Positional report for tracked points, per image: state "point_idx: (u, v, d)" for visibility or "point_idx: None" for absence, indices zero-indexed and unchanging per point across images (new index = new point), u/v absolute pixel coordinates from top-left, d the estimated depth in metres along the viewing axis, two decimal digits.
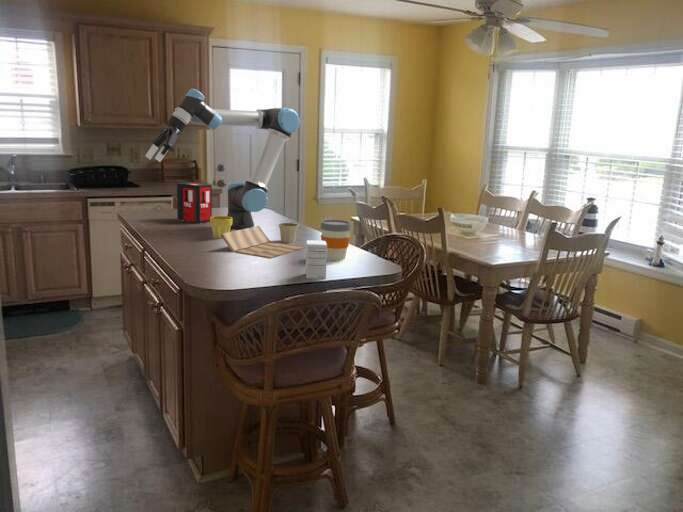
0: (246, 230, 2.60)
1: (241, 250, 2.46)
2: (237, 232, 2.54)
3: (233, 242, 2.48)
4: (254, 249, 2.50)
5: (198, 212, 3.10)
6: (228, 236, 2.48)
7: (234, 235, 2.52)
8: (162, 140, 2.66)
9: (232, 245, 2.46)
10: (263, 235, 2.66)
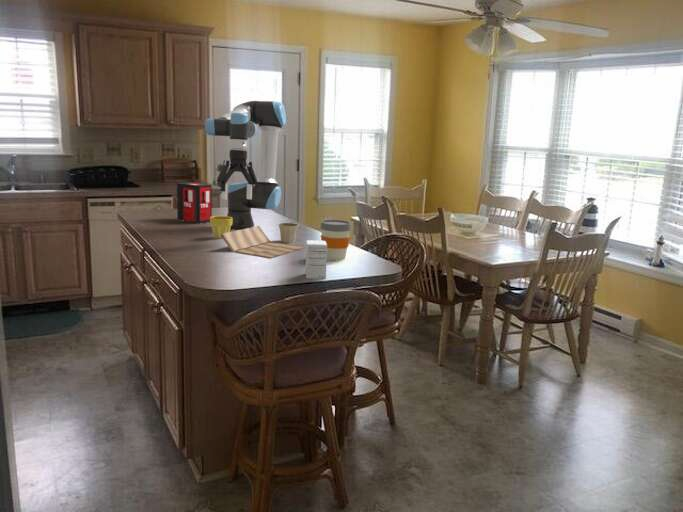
0: (246, 230, 2.60)
1: (241, 250, 2.46)
2: (237, 232, 2.54)
3: (233, 242, 2.48)
4: (254, 249, 2.50)
5: (198, 212, 3.10)
6: (228, 236, 2.48)
7: (234, 235, 2.52)
8: None
9: (232, 245, 2.46)
10: (263, 235, 2.66)
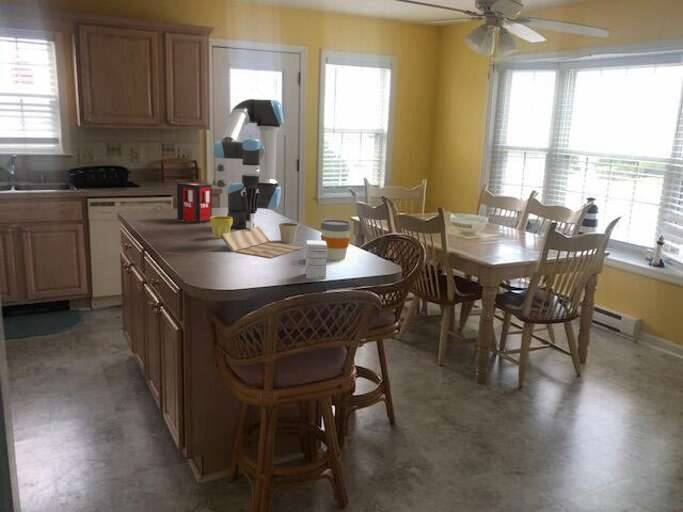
0: (245, 231, 2.60)
1: (241, 250, 2.46)
2: (236, 233, 2.54)
3: (233, 242, 2.48)
4: (254, 249, 2.50)
5: (198, 212, 3.10)
6: (227, 237, 2.48)
7: (234, 236, 2.52)
8: None
9: (232, 245, 2.46)
10: (263, 235, 2.66)
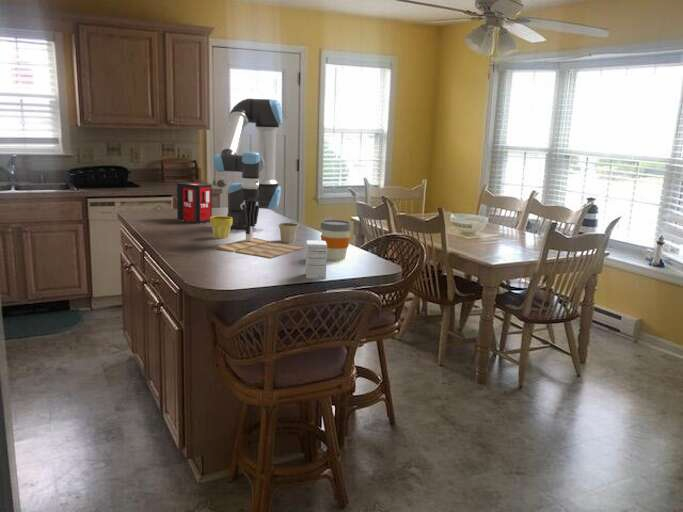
0: (241, 241, 2.62)
1: (241, 250, 2.46)
2: (232, 243, 2.57)
3: (230, 247, 2.49)
4: (254, 249, 2.50)
5: (198, 212, 3.10)
6: (223, 246, 2.50)
7: (230, 244, 2.54)
8: None
9: (230, 249, 2.47)
10: (260, 240, 2.68)
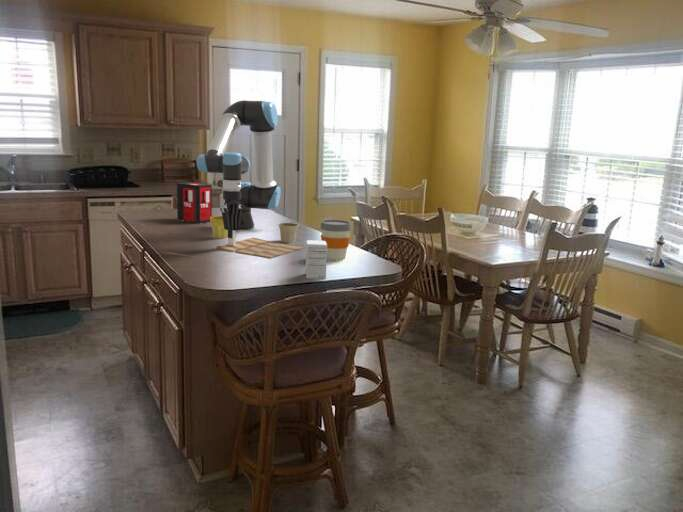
0: (241, 241, 2.62)
1: (241, 250, 2.46)
2: None
3: (230, 247, 2.49)
4: (254, 249, 2.50)
5: (198, 212, 3.10)
6: (223, 246, 2.50)
7: None
8: None
9: (230, 249, 2.47)
10: (260, 240, 2.68)
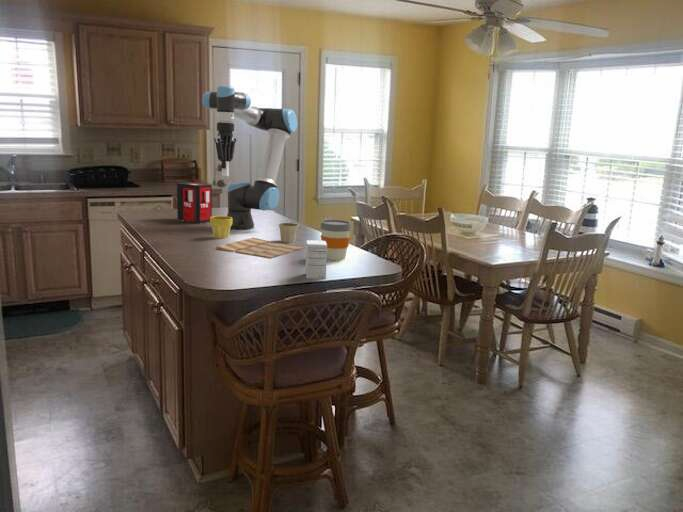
0: (241, 241, 2.62)
1: (241, 250, 2.46)
2: (232, 243, 2.57)
3: (230, 247, 2.49)
4: (254, 249, 2.50)
5: (198, 212, 3.10)
6: (223, 246, 2.50)
7: (230, 245, 2.54)
8: None
9: (230, 249, 2.47)
10: (260, 240, 2.68)
